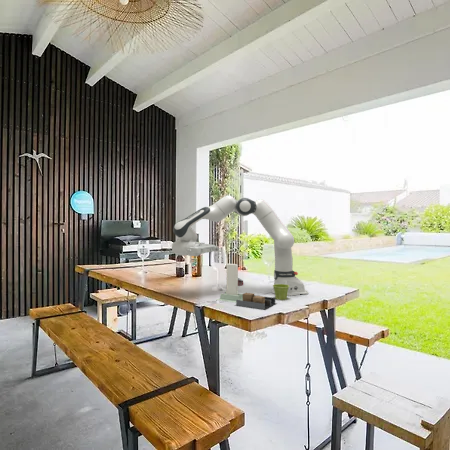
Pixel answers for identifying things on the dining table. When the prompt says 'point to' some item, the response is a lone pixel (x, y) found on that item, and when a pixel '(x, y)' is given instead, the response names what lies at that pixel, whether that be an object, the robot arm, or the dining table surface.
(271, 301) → the rack
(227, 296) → the holder
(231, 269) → the panel
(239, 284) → the canned food
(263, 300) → the offcut
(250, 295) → the offcut
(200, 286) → the dining table surface
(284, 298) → the plant pot
